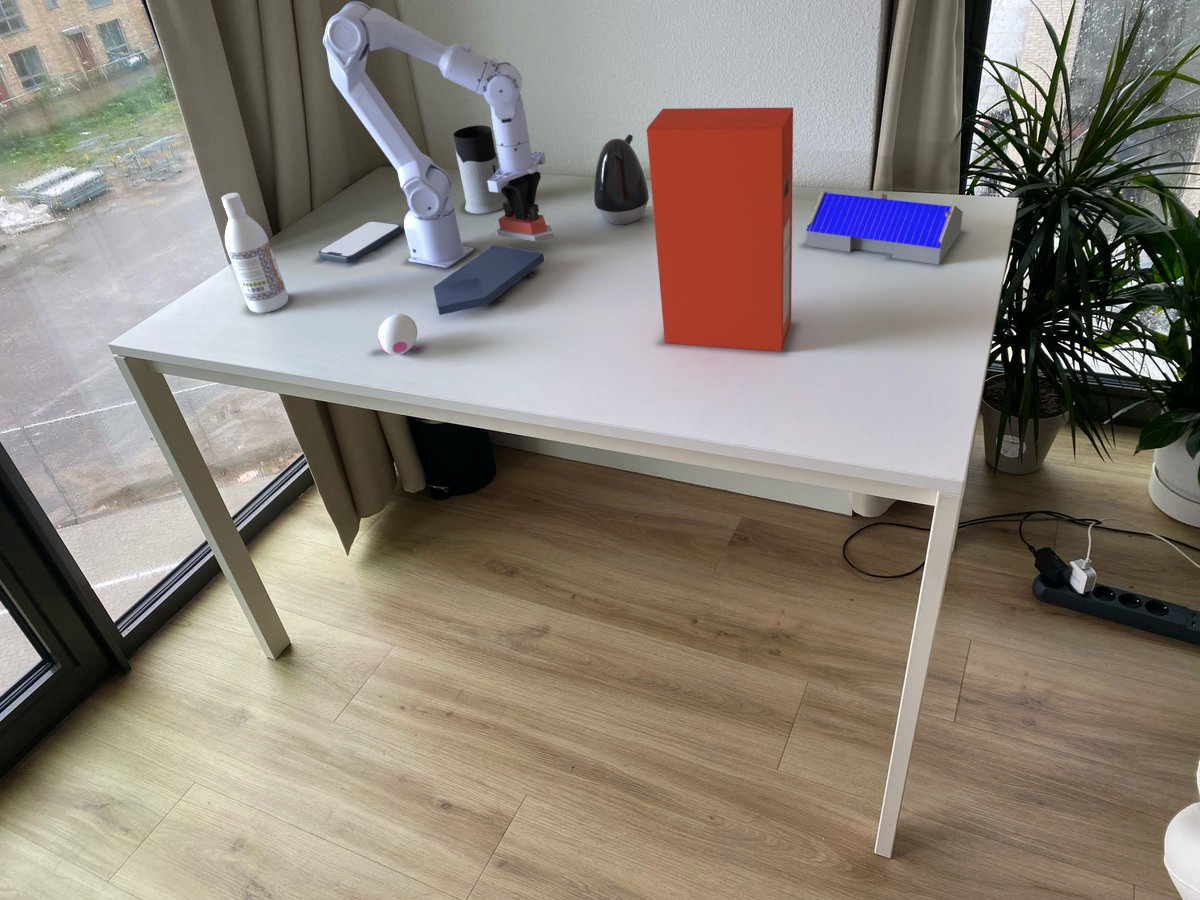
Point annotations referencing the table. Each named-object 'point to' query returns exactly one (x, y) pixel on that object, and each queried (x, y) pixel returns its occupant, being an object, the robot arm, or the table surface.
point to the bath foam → (252, 259)
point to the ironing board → (485, 278)
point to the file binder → (723, 224)
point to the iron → (524, 224)
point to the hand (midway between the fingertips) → (524, 216)
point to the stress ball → (397, 334)
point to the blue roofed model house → (884, 226)
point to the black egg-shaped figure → (620, 183)
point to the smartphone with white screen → (360, 242)
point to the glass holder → (478, 168)
